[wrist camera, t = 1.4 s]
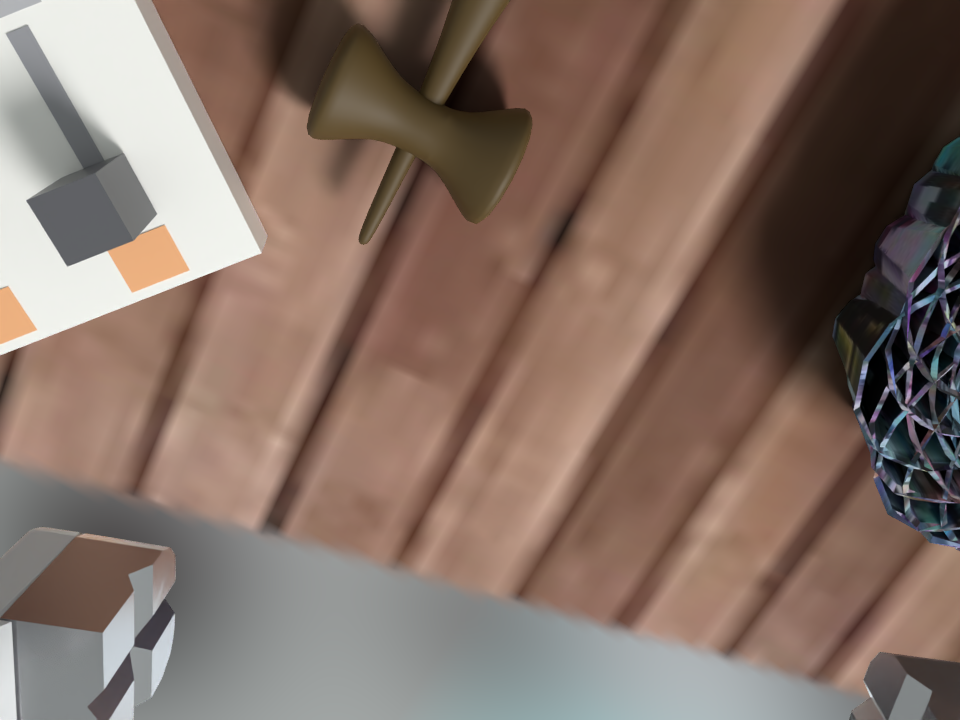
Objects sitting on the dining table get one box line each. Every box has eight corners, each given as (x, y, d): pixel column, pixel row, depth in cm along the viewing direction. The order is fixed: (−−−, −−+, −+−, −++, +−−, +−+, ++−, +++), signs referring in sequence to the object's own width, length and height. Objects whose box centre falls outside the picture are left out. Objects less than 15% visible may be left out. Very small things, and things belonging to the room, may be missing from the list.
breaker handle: (62, 177, 37) (25, 200, 33) (123, 152, 37) (94, 172, 33) (97, 237, 38) (67, 266, 34) (157, 214, 38) (133, 240, 34)
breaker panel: (-276, 54, 36) (-329, 60, 33) (102, -99, 35) (81, -106, 33) (-52, 360, 43) (-80, 386, 40) (268, 235, 42) (261, 253, 40)
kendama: (634, -100, 39) (443, 268, 44) (454, -220, 36) (275, 188, 42) (678, -120, 33) (453, 303, 39) (469, -263, 31) (261, 214, 36)
